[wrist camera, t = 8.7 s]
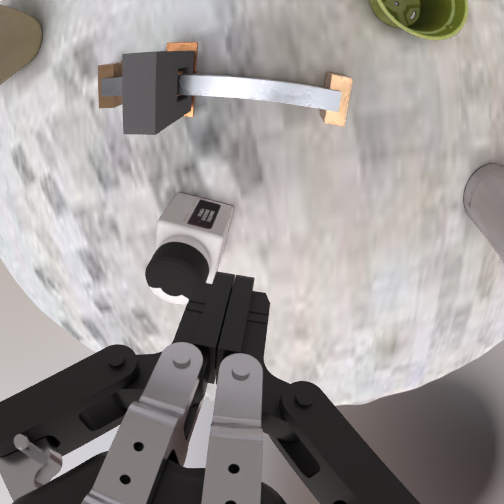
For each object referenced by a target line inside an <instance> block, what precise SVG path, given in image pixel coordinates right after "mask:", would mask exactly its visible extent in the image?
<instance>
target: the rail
mask: <svg viewBox="0 0 504 504" xmlns="http://www.w3.org/2000/svg"><path fill="white" fill-rule="evenodd" d="M197 46H198V42H189V43H167V51H194V65H193V74H183V72H184V71H178V82H177V97H178V96H180V95H192V104H191V111H190V112H189V113H187V114H186V115H184V116H188V117H193V116H194V96H195V95H200V96H218V97H232V98H244V99H254V100H263V101H271V102H279V103H287V104H294V105H300V106H307V107H313V108H318V109H321V110H320V115H321V117H322V119H323V121H324V123H328V124H333V125H338V126H343V127H344V125H345V120H346V115H347V109H348V104H349V98H350V92H351V87H352V81H353V79H352V78H350V77H347V76H345V75H340V74H335V73H330V72H326V78H325V84H324V87H321V86H315V85H309V84H303V83H296V82H289V81H282V80H274V79H265V78H255V77H244V76H231V75H213V74H196V60H197ZM122 63H123V62H117V63H111V64H105V65H99V66H98V91H99V108H114V107H117V106H119V105H121V104H123V101H122Z"/></svg>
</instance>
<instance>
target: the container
mask: <svg viewBox="0 0 504 504" xmlns="http://www.w3.org/2000/svg"><path fill="white" fill-rule="evenodd" d="M233 210H234V208H233V206H231V205H227V204H223V203H219V202H215V201H211V200H208V199H204V198H200V197H196V196H192V195H188V194H184V193H177V194H176V196H175V197H174V198H173V200H172V201H171V203H170V204H169V205H168V207H167V208H166V210H165V211H164V213H163V214H162V215H161V217H160V218H159V220H158V222H157V232H156V246H155V254H154V255H153V257H152V259H151V261H150V262H149V264H148V266H147V268H146V272H145V276H146V280H147V283H148V285H149V287H150V288H151V290H152V291H153V292H154V293H155V294H156V295H157V296H158V297H160V298H161V299H163V300H165V301H167V302H170V303H174V304H187V303H188V301H189V298H190V295H191V293H192V290H193V289H194V288H195V287H196V286H197V285H199V284H200V283H201V282H203V283H209V284H212V283H213V280H214V277H215V274H216V272H217V271H218V268H219V264H220V261H221V258H222V255H223V252H224V247H225V243H226V239H227V235H228V231H229V227H230V223H231V218H232V214H233Z"/></svg>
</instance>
